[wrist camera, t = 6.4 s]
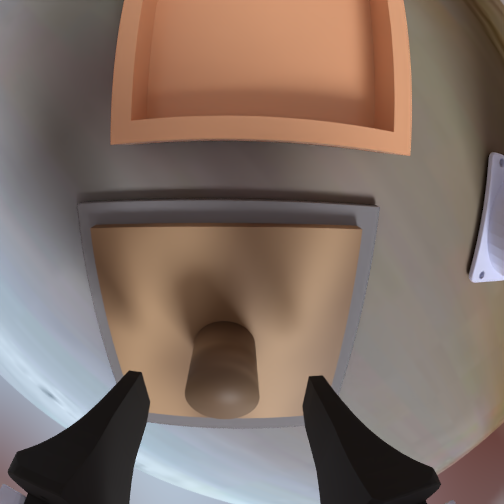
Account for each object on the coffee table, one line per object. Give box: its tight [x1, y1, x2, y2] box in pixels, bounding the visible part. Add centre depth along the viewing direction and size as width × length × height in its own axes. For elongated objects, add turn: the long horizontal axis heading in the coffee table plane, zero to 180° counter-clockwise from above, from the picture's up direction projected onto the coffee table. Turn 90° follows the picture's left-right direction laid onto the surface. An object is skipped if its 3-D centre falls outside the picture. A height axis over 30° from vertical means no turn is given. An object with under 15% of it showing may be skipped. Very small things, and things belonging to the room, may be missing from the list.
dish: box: [111, 0, 412, 156], centre depth 9 cm, size 11×11×3 cm
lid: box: [90, 223, 362, 419], centre depth 13 cm, size 12×12×4 cm
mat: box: [77, 199, 380, 429], centre depth 15 cm, size 14×15×1 cm
